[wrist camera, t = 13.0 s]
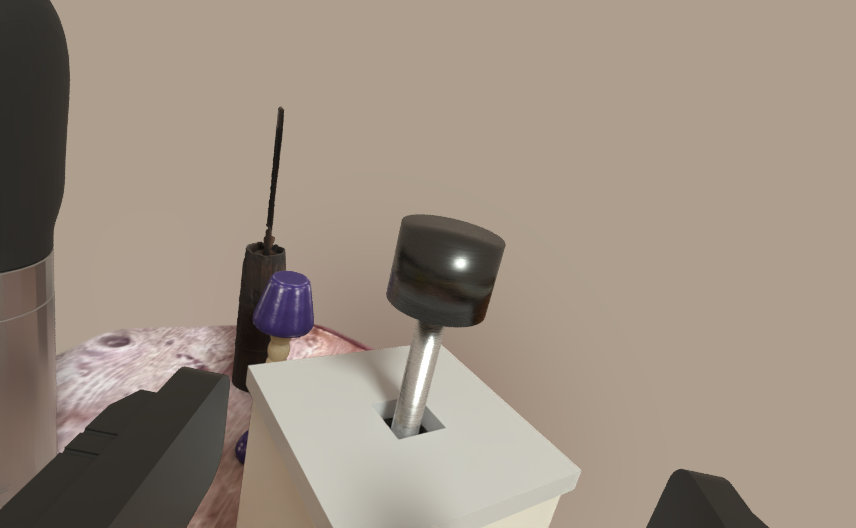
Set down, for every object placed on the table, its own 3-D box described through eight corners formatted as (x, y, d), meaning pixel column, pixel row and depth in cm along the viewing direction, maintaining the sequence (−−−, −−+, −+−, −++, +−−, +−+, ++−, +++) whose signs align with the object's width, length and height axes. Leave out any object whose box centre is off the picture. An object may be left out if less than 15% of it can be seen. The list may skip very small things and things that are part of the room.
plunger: (245, 648, 28) (314, 193, 20) (372, 592, 33) (470, 205, 25) (295, 822, 22) (423, 276, 14) (442, 724, 27) (603, 271, 19)
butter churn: (235, 343, 59) (263, 94, 51) (314, 363, 59) (356, 116, 50) (191, 384, 51) (215, 93, 42) (283, 409, 50) (327, 120, 41)
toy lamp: (297, 440, 47) (325, 272, 41) (284, 477, 42) (313, 294, 37) (244, 431, 46) (266, 259, 41) (225, 467, 42) (246, 281, 36)
